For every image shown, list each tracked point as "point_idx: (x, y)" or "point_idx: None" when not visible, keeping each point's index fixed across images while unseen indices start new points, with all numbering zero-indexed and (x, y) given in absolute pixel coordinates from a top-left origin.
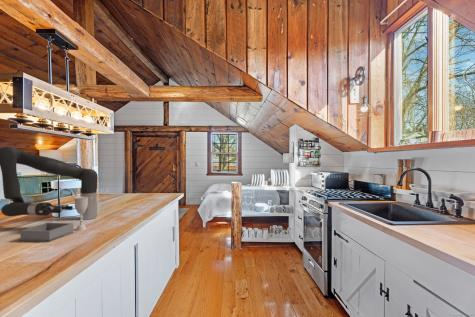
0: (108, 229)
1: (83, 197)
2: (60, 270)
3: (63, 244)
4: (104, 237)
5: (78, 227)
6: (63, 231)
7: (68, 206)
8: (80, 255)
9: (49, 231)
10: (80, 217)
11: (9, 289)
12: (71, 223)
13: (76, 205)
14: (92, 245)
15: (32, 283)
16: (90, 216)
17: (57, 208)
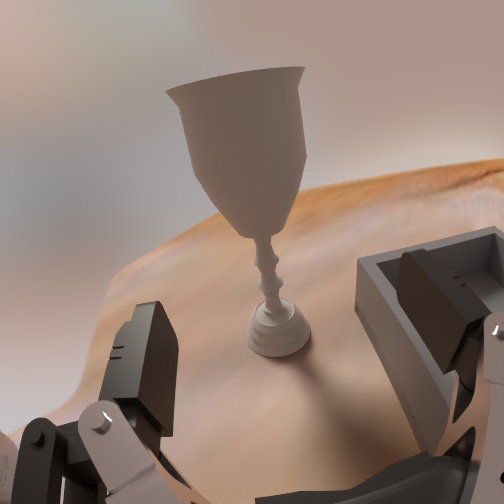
0: None
1: (175, 98)
2: (474, 163)
3: (450, 222)
4: (338, 197)
5: (300, 315)
6: None
7: (149, 349)
8: (439, 172)
9: (494, 227)
10: (277, 256)
11: None
12: (367, 262)
13: (304, 141)
14: (398, 183)
15: (501, 164)
16: (1, 437)
17: (308, 495)
